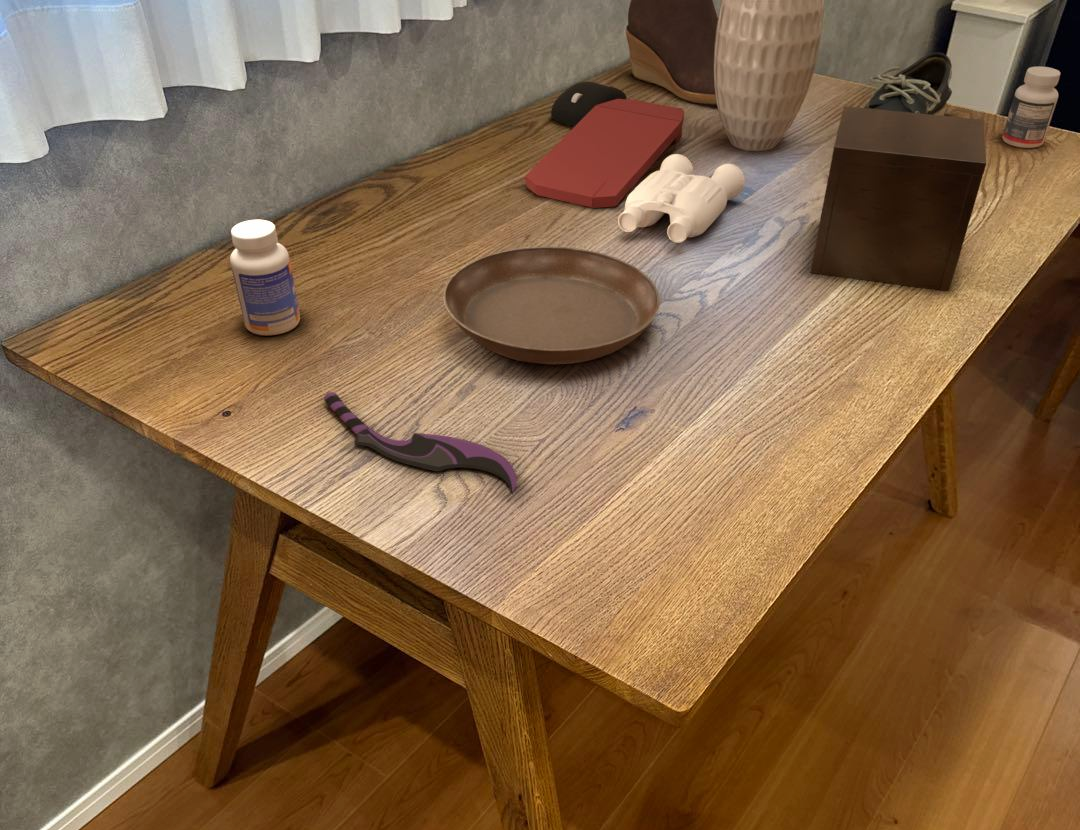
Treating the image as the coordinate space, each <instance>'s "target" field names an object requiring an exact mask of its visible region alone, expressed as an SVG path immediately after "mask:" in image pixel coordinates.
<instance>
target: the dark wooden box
mask: <svg viewBox="0 0 1080 830" xmlns="http://www.w3.org/2000/svg"><path fill="white" fill-rule="evenodd" d="M837 129H838V130H837V134H836V138H835V141H834V145H833V151H832V155H831V161H830V166H829V171H828V176H827V183H826V187H825V192H824V198H823V202H822V207H821V208H822V209H821V214H820V219H819V224H818V230H817V234H816V240H815V245H814V251H813V256H812V261H811V265H810V271H809V272H810V273H811V274H818V275H825V276H833V277H839V278H840V277H841V278H847V279H854V280H855V279H856V280H863V281H870V282H876V283H877V282H878V283H884V284H892V285H900V286H907V287H915V288H922V289H929V290H938V291H945V292H949V291H950V289H951V286H952V284H953V283H952V282H953V279H954V276H955V273H956V270H957V266H958V262H959V259H960V255H961V252H962V249H963V245H964V242H965V238H966V235H967V232H968V228H969V224H970V221H971V218H972V215H973V211H974V207H975V204H976V200H977V197H978V194H979V190H980V187H981V184H982V180H983V177H984V173H985V170H986V167H987V151H986V150H987V149H986V148H987V147H986V132H985V131H986V130H985V119H978V118H971V117H961V116H960V117H959V116H950V115H949V116H948V115H944V116H940V115H929V114H919V113H909V112H899V111H889V110H878V109H868V108H864V107H856V106H847V105H844V106H843V108H842V113H841V116H840V121H839V125H838V128H837Z"/></svg>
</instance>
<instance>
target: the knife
mask: <svg viewBox="0 0 1080 830" xmlns="http://www.w3.org/2000/svg"><path fill="white" fill-rule="evenodd" d="M323 400H324V402H325V404H326V405H327V406H328V407H329V408H330V409H331V410H332V411H333V412H334V413H335V415H337V417H339V419H341V420H342V422H343V423H344V424H345V425H346V426H347V427H348V428H349V429H350V431H352V432H353V433H354V434H355V440H354V444H353V446H362V447H363V446H364V447H369V448H371V449H373V450H375V451H376V452H378V453H380V454H382V455H383V456H385V457H387V458H389V459H391V460H394V461H396V462H399V463H402V464H405V465H409V466H412V467H417V468H419V469H421V468H422V469H425V470H430V471H434V472H440V471H444V470H447V469H448V470H449V469H456V468H466V469H467V468H469V469H475V470H480V471H485V472H489V473H491V474H494V475H495V476H498V477H499V478H501V479H502V480H503V481H505V483H506V484H507V485H508V487H509V488H510V491H511V493H514V491H515V489H516V487H517V484H518V479H517V474H516V471H515V469H514V467H513V465H512V464H511V463H510V462H509V460H507V459H506V457H504V456H503V455H502V454H500V453H499V452H497V451H495V450H493V449H492V448H489V447H488V446H485V445H482V444H481V443H480V444H479V443H477V442H474V441H470V440H465V439H463V438H458V437H454V436H448V435H440V434H432V433H421V432H414V433H413V434H412V436H411V437H410V438H409V439H405V440H397V439H392V438H388V437H386V436H384V435H382V434H380V433H379V432H377V431H376V430H375V429H374V428H372V427H371V428H370V427H369V426H368V425H367V424H366V423H365V422H364V421H362V420H361V419H360V418H359V417H358V416H356V414H355V413H353V412H352V410H351V409H349V407H348V406H347V405H346V404H345V403H344V401H343V400H342V399H341V397H340V396H339V395H338V394H337V393H335V392H333V391H330V392H327V393H325V395H324V396H323Z"/></svg>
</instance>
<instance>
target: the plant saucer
mask: <svg viewBox="0 0 1080 830" xmlns="http://www.w3.org/2000/svg"><path fill="white" fill-rule="evenodd" d="M444 286H445V287H444V289H443V296H442V297H443V298H442V299H443V303H444V307H445V309H446V311H447V313H448V315H449V316H450V318H451V319H452V320H453V321H454V323H455V324H456V325H457V326H458V327H459V328H460V330H461V331H463V332H464V334H466V335H467V336H468V337H469V338H470V339H472V340H473V341H474V342H475V343H477V344H479V345H480V346H482V347H483V348H485V349H486V350H489V351H491V352H493V353H495V354H497V355H500V356H502V357H505V358H508V359H511V360H515V361H520V362H524V363H530V364H531V363H532V364H540V365H541V364H542V365H570V364H578V363H584V362H588V361H593V360H596V359H599V358H602V357H605V356H608V355H610V354H612V353H614V352H617V351H618V350H620V349H622V348H623V347H625V346H627V345H628V344H630V343H632V342H633V341H634V340H635V339H637V338H638V337H639V336H640V335H641V334H642V333H644V332H645V331H646V329H647V328H648V327H649V326H650V324H651V323H652V322H653V321H654V319H655V318H656V316H657V314H658V313H659V311H660V306H661V296H660V292H659V289H658V288H657V285H656V284H655V283H654V281H653V280H652V279H651V278H650V277H649V276H648V275H647V274H645V272H643V271H642V270H640V269H639V268H638V267H636V266H634V265H633V264H631V263H628V262H626V261H625V260H623V259H620V258H617V257H615V256H612V255H609V254H605V253H602V252H599V251H593V250H589V249H583V248H576V247H574V248H573V247H566V246H528V247H520V248H512V249H506V250H503V251H499V252H495V253H491V254H488V255H485V256H483V257H482V256H481V257H480V258H477V259H475V260H473V261H471V262H469V263H467V264H465V265H464V266H462V267H461V268H459V269H458V270H457V271H456V272H455V273H453V274H452V276H450V278H449V279H448V281H447V282H446V284H445V285H444Z"/></svg>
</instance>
